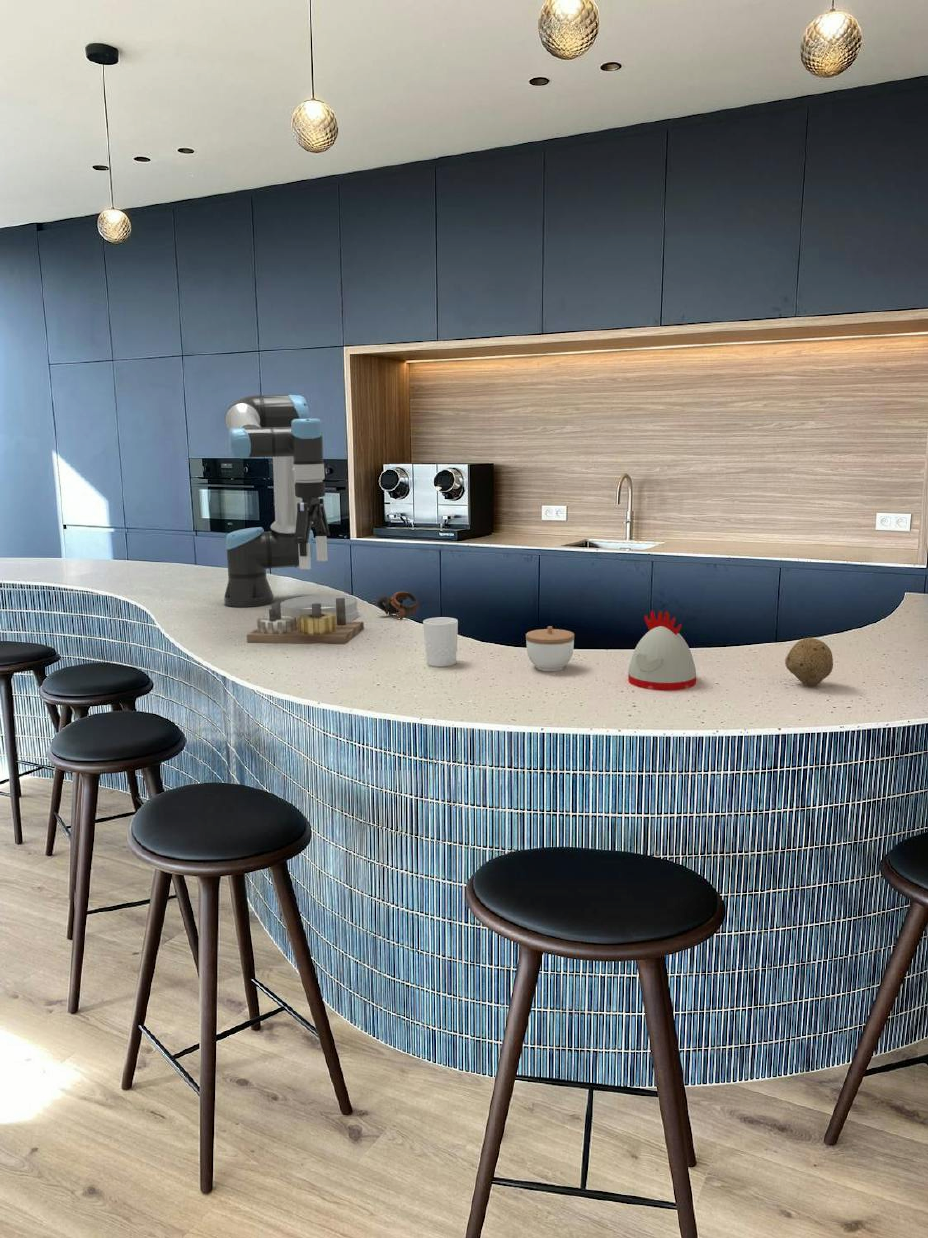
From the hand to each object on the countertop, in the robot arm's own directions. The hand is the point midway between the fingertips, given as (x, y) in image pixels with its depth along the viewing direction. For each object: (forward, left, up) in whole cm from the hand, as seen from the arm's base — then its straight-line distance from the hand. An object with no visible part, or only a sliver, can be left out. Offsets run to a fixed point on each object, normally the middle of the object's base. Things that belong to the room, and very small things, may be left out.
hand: (314, 565), depth 236 cm
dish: (-26, -8, -20) cm, 33 cm away
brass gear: (0, 0, -17) cm, 17 cm away
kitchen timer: (+34, +86, -20) cm, 95 cm away
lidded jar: (+25, +62, -19) cm, 70 cm away
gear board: (-3, -4, -19) cm, 20 cm away
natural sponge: (+35, +115, -19) cm, 122 cm away
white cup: (+23, +37, -19) cm, 48 cm away
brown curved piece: (-29, +15, -20) cm, 38 cm away
